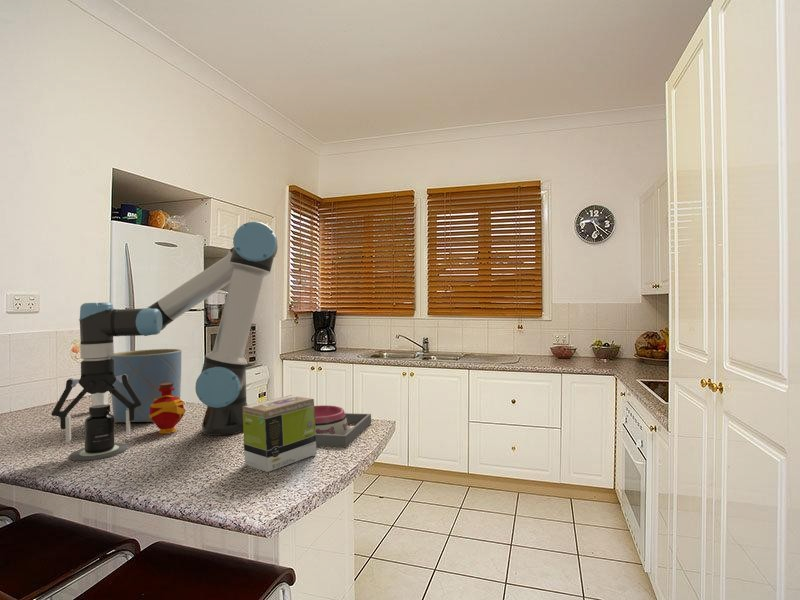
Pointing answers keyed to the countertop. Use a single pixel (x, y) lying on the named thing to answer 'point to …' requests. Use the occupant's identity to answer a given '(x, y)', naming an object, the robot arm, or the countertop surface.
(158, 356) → the planter
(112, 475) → the countertop surface
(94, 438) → the supplement bottle
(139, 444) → the countertop surface
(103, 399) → the cup
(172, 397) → the potion bottle
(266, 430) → the tea box
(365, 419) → the bowl mat frame
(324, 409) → the dog bowl
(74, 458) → the plate
